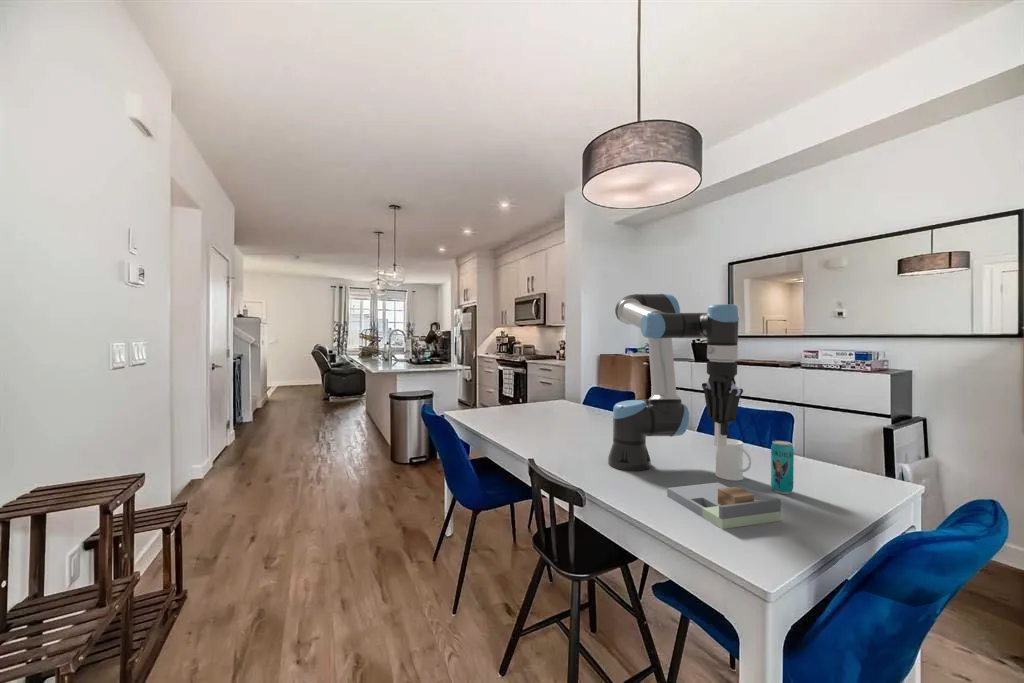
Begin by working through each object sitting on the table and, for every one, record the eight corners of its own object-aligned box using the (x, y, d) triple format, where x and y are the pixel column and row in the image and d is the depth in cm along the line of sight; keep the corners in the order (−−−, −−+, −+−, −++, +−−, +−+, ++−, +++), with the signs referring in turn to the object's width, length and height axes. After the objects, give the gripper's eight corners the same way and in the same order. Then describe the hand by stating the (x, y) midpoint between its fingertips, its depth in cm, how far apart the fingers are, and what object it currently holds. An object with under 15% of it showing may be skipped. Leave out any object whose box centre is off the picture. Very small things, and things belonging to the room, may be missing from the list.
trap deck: (667, 495, 124) (667, 477, 124) (718, 490, 129) (718, 472, 129) (721, 529, 103) (722, 507, 103) (780, 520, 108) (780, 499, 108)
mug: (758, 481, 136) (758, 445, 136) (739, 485, 133) (739, 447, 133) (727, 471, 147) (727, 437, 147) (709, 474, 144) (709, 439, 144)
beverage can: (768, 491, 128) (769, 442, 127) (773, 486, 132) (773, 439, 132) (791, 496, 124) (791, 446, 124) (794, 491, 128) (795, 442, 128)
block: (717, 503, 113) (717, 488, 113) (736, 501, 114) (736, 486, 114) (734, 512, 107) (734, 497, 107) (754, 510, 109) (754, 494, 108)
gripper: (694, 359, 120) (693, 440, 121) (728, 363, 108) (726, 453, 109) (716, 358, 122) (714, 438, 123) (752, 362, 110) (750, 451, 111)
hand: (720, 445), depth 116 cm, fingers closed
